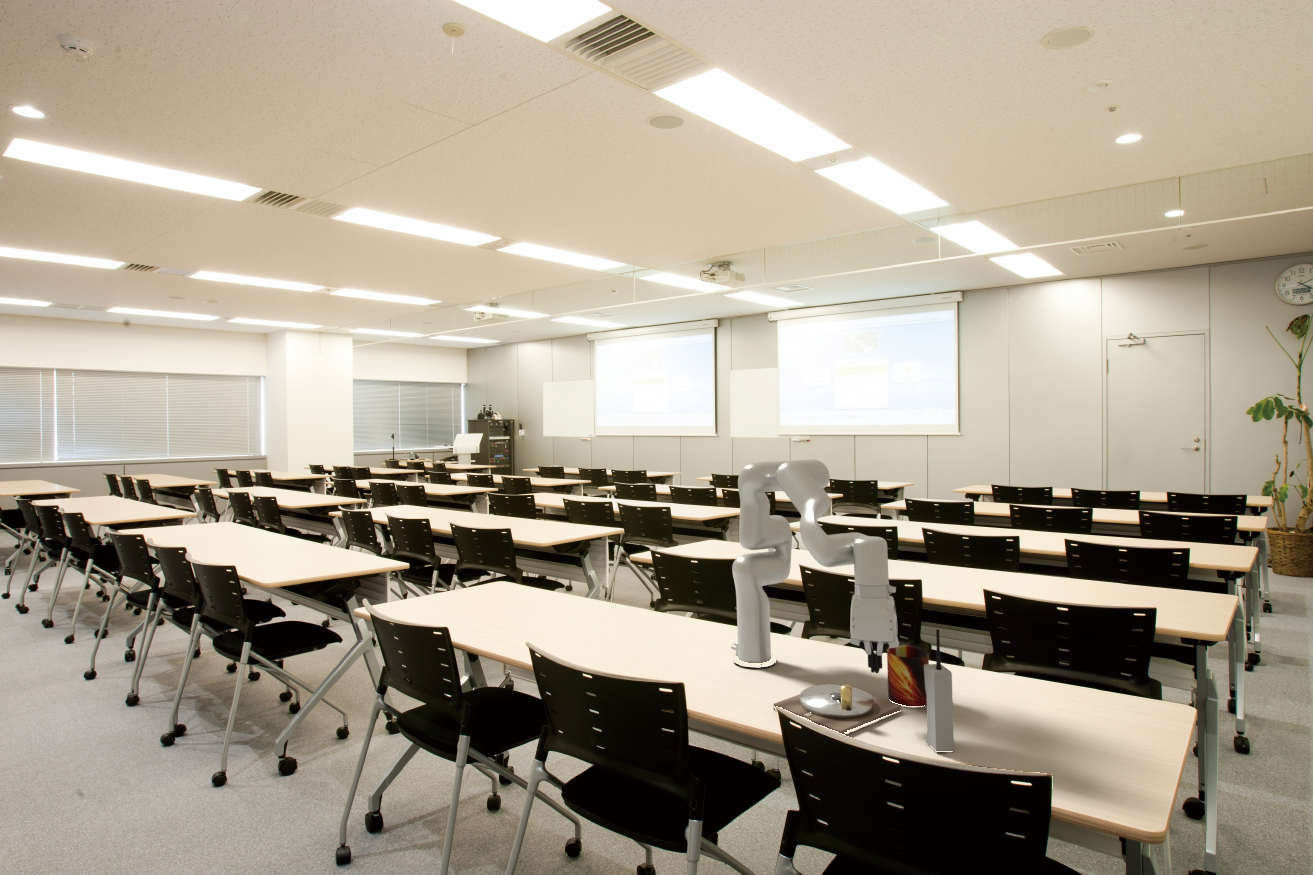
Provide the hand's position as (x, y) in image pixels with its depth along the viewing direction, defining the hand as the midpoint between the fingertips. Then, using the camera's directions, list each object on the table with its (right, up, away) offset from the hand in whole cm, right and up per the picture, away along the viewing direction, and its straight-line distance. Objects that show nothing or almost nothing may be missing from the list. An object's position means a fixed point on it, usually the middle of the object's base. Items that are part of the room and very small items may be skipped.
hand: (875, 670), depth 157 cm
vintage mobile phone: (+9, -11, -14) cm, 20 cm away
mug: (+13, -11, +10) cm, 20 cm away
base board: (-7, -12, +6) cm, 15 cm away
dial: (-7, -10, +6) cm, 14 cm away
